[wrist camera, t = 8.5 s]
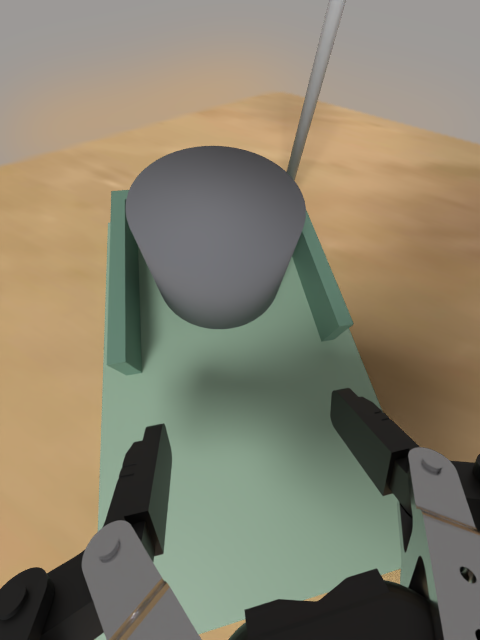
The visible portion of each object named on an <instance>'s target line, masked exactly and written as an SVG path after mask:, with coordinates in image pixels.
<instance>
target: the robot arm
mask: <svg viewBox="0 0 480 640" xmlns="http://www.w3.org/2000/svg"><path fill="white" fill-rule="evenodd" d="M330 418H331V422H332V425H333V427H334V428H335V430H336V431H337V433H338V434H339V436H340V437H341V438H342V440H343V441H344V443H345V444H346V445H347V447H348V448H349V450H350V451H351V452H352V454H353V455H354V457H355V458H356V459H357V461H358V462H359V464H360V465H361V466H362V468H363V469H364V471H365V472H366V473H367V475H368V476H369V478H370V479H371V480H372V482H373V483H374V485H375V486H376V487H377V489H378V490H379V492H380V493H381V495H382V496H386V495H389V494H394V495H395V497H396V498H397V499H398V501H397V513H398V524H399V536H400V548H401V575H400V584H397V583H394V582H390V581H385V580H383V578H382V576H381V575H380V573H379V571H378V569H377V568H376V569H373V570H369V571H366V572H363V573H360V574H357V575H353V576H350V577H347V578H345V579H344V580H343V581H342V582H341V583H340V584H338V585H337V586H336V587H335V588H334V589H332V590H331V591H330V592H329V593H328V594H327V595H325V596H324V597H323V598H322V599H321V600H319V601H315V602H313V601H299V600H286V599H277V600H274V601H271V602H268V603H264V604H261V605H258V606H255V607H252V608H248V609H245V610H244V611H245V619H246V623H244V624H243V625H242V626H241V627H239V628H238V629H237V630H236V631H235V633H234V634H233V635H232V636H231V637H230V638H229V640H480V454H479V455H478V456H477V459H476V462H475V463H470V462H458V461H449V460H448V459H447V458H446V457H444V456H443V455H441V454H440V453H438V452H436V451H434V450H431V449H428V448H422V447H419V446H418V445H417V444H416V443H415V442H414V441H413V440H412V439H411V438H410V437H409V436H408V435H407V434H406V433H405V432H404V431H403V430H401V429H400V428H399V427H398V426H397V425H396V424H395V423H394V422H393V421H392V420H390V419H389V417H388V416H387V415H386V414H385V413H383V412H382V410H381V409H379V408H378V407H377V406H376V405H375V404H374V403H373V402H371V401H369V400H368V399H366V398H364V397H358V396H357V395H356V394H355V393H354V392H353V391H352V390H351V389H350V388H344V389H339V390H334V391H333V392H332V396H331V411H330ZM171 469H172V451H171V446H170V442H169V438H168V434H167V430H166V426H165V424H164V423H163V424H158V425H152V426H147V427H146V429H145V432H144V436H143V440H142V441H137V442H134V443H133V444H132V446H131V447H130V448H129V450H128V451H127V453H126V454H125V458H124V461H123V464H122V469H121V471H120V474H119V479H118V481H117V484H116V487H115V490H114V494H113V497H112V500H111V503H110V507H109V510H108V513H107V516H106V520H105V523H104V525H103V527H102V529H100V530H99V531H98V532H97V533H96V534H95V535H94V537H93V538H92V539H91V541H90V542H89V544H88V545H87V547H86V549H85V550H84V551H83V552H81V553H80V554H79V555H77V556H76V557H74V558H72V559H71V560H69V561H67V562H66V563H64V564H62V565H60V566H59V567H57V568H55V569H54V570H52V571H50V572H49V573H47V574H46V572H45V571H44V570H43V569H42V568H38V567H36V568H30V569H27V570H25V571H23V572H21V573H19V574H18V575H16V576H15V577H13V578H12V579H11V580H9V581H8V582H7V583H6V584H5V585H4V586H3V587H2V588H1V589H0V640H94V639H96V638H97V637H98V636H100V635H101V634H102V633H104V634H105V637H106V640H201V638H200V636H199V635H198V633H197V631H196V630H195V628H194V626H193V625H192V623H191V621H190V619H189V618H188V616H187V614H186V613H185V611H184V609H183V608H182V606H181V604H180V603H179V601H178V599H177V598H176V596H175V594H174V593H173V591H172V589H171V588H170V586H169V585H168V583H167V582H166V581H164V580H163V578H162V577H161V575H160V573H159V572H158V570H157V568H156V567H155V565H154V563H153V562H154V556H158V555H162V554H164V544H165V533H166V522H167V512H168V501H169V490H170V480H171Z"/></svg>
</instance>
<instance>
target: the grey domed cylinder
mask: <svg viewBox="0 0 480 640" xmlns="http://www.w3.org/2000/svg"><path fill="white" fill-rule="evenodd" d="M125 210H126V218H127V221H128V224H129V227H130V230H131V232H132V234H133V236H134V238H135V240H136V242H137V244H138V247H139V249H140V251H141V253H142V255H143V257H144V259H145V261H146V264H147V266H148V268H149V270H150V272H151V274H152V276H153V278H154V280H155V283H156V285H157V287H158V289H159V291H160V293H161V295H162V297H163V299H164V301H165V303H166V304H167V305H168V307H169V308H170V309H171V310H172V311H173V312H174V313H175V314H176V315H177V316H179V317H180V318H181V319H183V320H185V321H187V322H188V323H191V324H193V325H196V326H199V327H203V328H208V329H231V328H235V327H240V326H242V325H245V324H248V323H250V322H252V321H254V320H255V319H257V318H258V317H260V316H261V315H262V314H263V313H264V312H265V311H266V310H267V309H268V308H269V307H270V306H271V304H272V303H273V301H274V299H275V297H276V295H277V292H278V290H279V287H280V285H281V282H282V280H283V277H284V275H285V272H286V270H287V267H288V265H289V262H290V260H291V257H292V255H293V252H294V250H295V247H296V245H297V242H298V240H299V237H300V235H301V232H302V230H303V227H304V223H305V218H306V207H305V201H304V198H303V195H302V193H301V191H300V189H299V187H298V185H297V184H296V183H295V181H294V180H293V179H292V177H291V176H290V175H289V174H288V173H287V172H286V171H284V170H283V169H282V168H281V167H280V166H278V165H277V164H275V163H274V162H272V161H270V160H268V159H266V158H265V157H262V156H260V155H258V154H255V153H252V152H249V151H246V150H242V149H238V148H232V147H224V146H202V147H193V148H188V149H183V150H180V151H176V152H173V153H171V154H168V155H166V156H164V157H162V158H160V159H158V160H156V161H155V162H153V163H152V164H150V165H149V166H148V167H147V168H145V169H144V170H143V171H142V172H141V173H140V174H139V175H138V176H137V178H136V179H135V181H134V182H133V184H132V185H131V187H130V190H129V192H128V195H127V199H126V209H125Z"/></svg>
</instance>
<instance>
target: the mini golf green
mask: <svg viewBox="0 0 480 640" xmlns="http://www.w3.org/2000/svg"><path fill="white" fill-rule="evenodd" d="M345 2H346V0H329V3H328V7H327V12H326V15H325V20H324V24H323V28H322V32H321V36H320V40H319V44H318V48H317V52H316V56H315V60H314V64H313V68H312V72H311V76H310V80H309V84H308V88H307V92H306V96H305V100H304V104H303V108H302V112H301V116H300V121H299V125H298V129H297V133H296V137H295V141H294V145H293V149H292V153H291V157H290V161H289V165H288V169H287V173H288V174H289V175H290V176H291V177H292V179H293V180H295V177H296V173H297V170H298V166H299V163H300V159H301V156H302V152H303V149H304V145H305V142H306V138H307V135H308V131H309V128H310V124H311V121H312V117H313V114H314V110H315V107H316V103H317V100H318V96H319V93H320V89H321V86H322V82H323V79H324V75H325V72H326V68H327V65H328V62H329V58H330V55H331V51H332V48H333V44H334V40H335V37H336V33H337V30H338V27H339V23H340V20H341V16H342V13H343V9H344V6H345ZM128 192H129V190H122V191H111V223H108V242H107V273H106V303H105V333H104V363H103V394H102V424H101V454H100V484H99V514H98V531H99V530H100V529H102V527H103V525H104V523H105V520H106V516H107V513H108V510H109V507H110V503H111V500H112V497H113V494H114V490H115V487H116V484H117V481H118V479H119V474H120V471H121V469H122V464H123V461H124V458H125V454H126V453H127V451H128V450H129V448H130V447H131V446H132V444H133V443H134V442H137V441H142V440H143V436H144V432H145V429H146V427H147V426H152V425H158V424H163V423H164V424H165V426H166V430H167V434H168V438H169V442H170V446H171V451H172V469H171V480H170V490H169V501H168V512H167V522H166V533H165V544H164V554H162V555H158V556H154V562H153V563H154V565H155V567H156V568H157V570H158V572H159V573H160V575H161V577H162V578H163V580H164V581H166V582H167V583H168V585H169V586H170V588H171V589H172V591H173V593H174V594H175V596H176V598H177V599H178V601H179V603H180V604H181V606H182V608H183V609H184V611H185V613H186V614H187V616H188V618H189V619H190V621H191V623H192V625H193V626H194V628H195V630H196V631H197V633H198V634H201V633H204V632H207V631H210V630H213V629H216V628H220V627H223V626H226V625H229V624H232V623H235V622H238V621H241V620H244V619H245V611H244V610H245V609H248V608H252V607H255V606H258V605H261V604H264V603H268V602H271V601H274V600H277V599H286V600H299V601H302V600H306V599H309V598H312V597H315V596H318V595H321V594H324V593H327V592H330V591H331V590H332V589H334V588H335V587H336V586H337V585H338V584H340V583H341V582H342V581H343V580H344V579H345V578H347V577H350V576H353V575H357V574H360V573H363V572H366V571H369V570H373V569H376V568H377V569H378V571H379V573H380V575H382V574H385V573H388V572H392V571H395V570H398V569H401V548H400V536H399V524H398V513H397V501H398V499H397V498H396V497H395V495H394V494H389V495H386V496H382V495H381V493H380V492H379V490H378V489H377V487H376V486H375V485H374V483H373V482H372V480H371V479H370V478H369V476H368V475H367V473H366V472H365V471H364V469H363V468H362V466H361V465H360V464H359V462H358V461H357V459H356V458H355V457H354V455H353V454H352V452H351V451H350V450H349V448H348V447H347V445H346V444H345V443H344V441H343V440H342V438H341V437H340V436H339V434H338V433H337V431H336V430H335V428H334V427H333V425H332V422H331V418H330V411H331V396H332V392H333V391H334V390H339V389H344V388H350V389H351V390H352V391H353V392H354V393H355V394H356V395H357V396H358V397H364V398H366V399H368V400H369V401H371V402H373V403H374V404H375V405H376V406H377V407H378V408H379V409H381V407H380V404H379V402H378V399H377V397H376V394H375V392H374V389H373V387H372V384H371V382H370V379H369V377H368V374H367V372H366V369H365V367H364V365H363V362H362V360H361V357H360V355H359V352H358V350H357V347H356V345H355V342H354V340H353V337H352V335H351V332H350V330H349V327H351V326H352V325H353V321H352V319H351V316H350V314H349V312H348V309H347V307H346V304H345V302H344V300H343V297H342V295H341V292H340V290H339V288H338V285H337V283H336V280H335V278H334V275H333V273H332V271H331V268H330V266H329V263H328V261H327V259H326V256H325V254H324V251H323V249H322V247H321V244H320V242H319V239H318V237H317V235H316V232H315V230H314V227H313V225H312V223H311V220H310V218H309V215H308V213H307V211H306V218H305V223H304V227H303V230H302V232H301V235H300V237H299V240H298V242H297V245H296V247H295V250H294V252H293V255H292V257H291V260H290V262H289V265H288V267H287V270H286V272H285V275H284V277H283V280H282V282H281V285H280V287H279V290H278V292H277V295H276V297H275V299H274V301H273V303H272V304H271V306H270V307H269V308H268V309H267V310H266V311H265V312H264V313H263V314H262V315H261V316H260V317H258V318H257V319H255V320H254V321H252V322H250V323H248V324H245V325H242V326H240V327H235V328H231V329H208V328H203V327H199V326H196V325H193V324H191V323H188V322H187V321H185V320H183V319H181V318H180V317H179V316H177V315H176V314H175V313H174V312H173V311H172V310H171V309H170V308H169V307H168V305H167V304H166V303H165V301H164V299H163V297H162V295H161V293H160V291H159V289H158V287H157V285H156V283H155V280H154V278H153V276H152V274H151V272H150V270H149V268H148V266H147V264H146V261H145V259H144V257H143V255H142V253H141V251H140V249H139V247H138V244H137V242H136V240H135V238H134V236H133V234H132V232H131V230H130V227H129V224H128V221H127V218H126V210H125V209H126V199H127V195H128ZM381 410H382V409H381ZM94 640H106V637H105V634H104V633H102V634H101V635H100V636H98V637H97V638H96V639H94Z"/></svg>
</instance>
